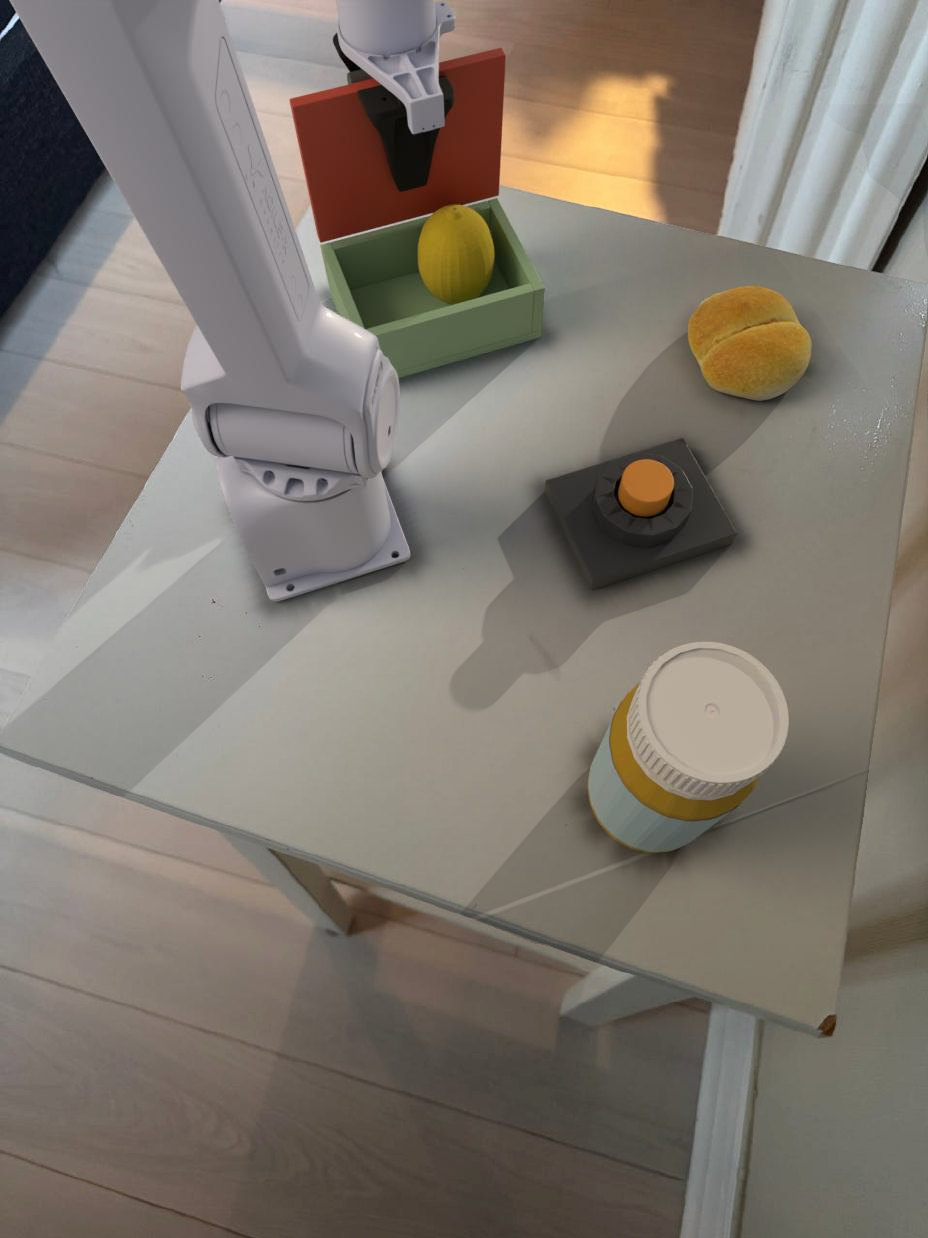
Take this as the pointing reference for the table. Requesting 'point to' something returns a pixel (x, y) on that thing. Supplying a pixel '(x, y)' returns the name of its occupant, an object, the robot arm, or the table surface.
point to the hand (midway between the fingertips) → (402, 165)
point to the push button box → (637, 517)
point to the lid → (357, 164)
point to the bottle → (686, 746)
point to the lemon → (455, 254)
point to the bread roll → (749, 343)
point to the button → (645, 487)
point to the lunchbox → (412, 316)
